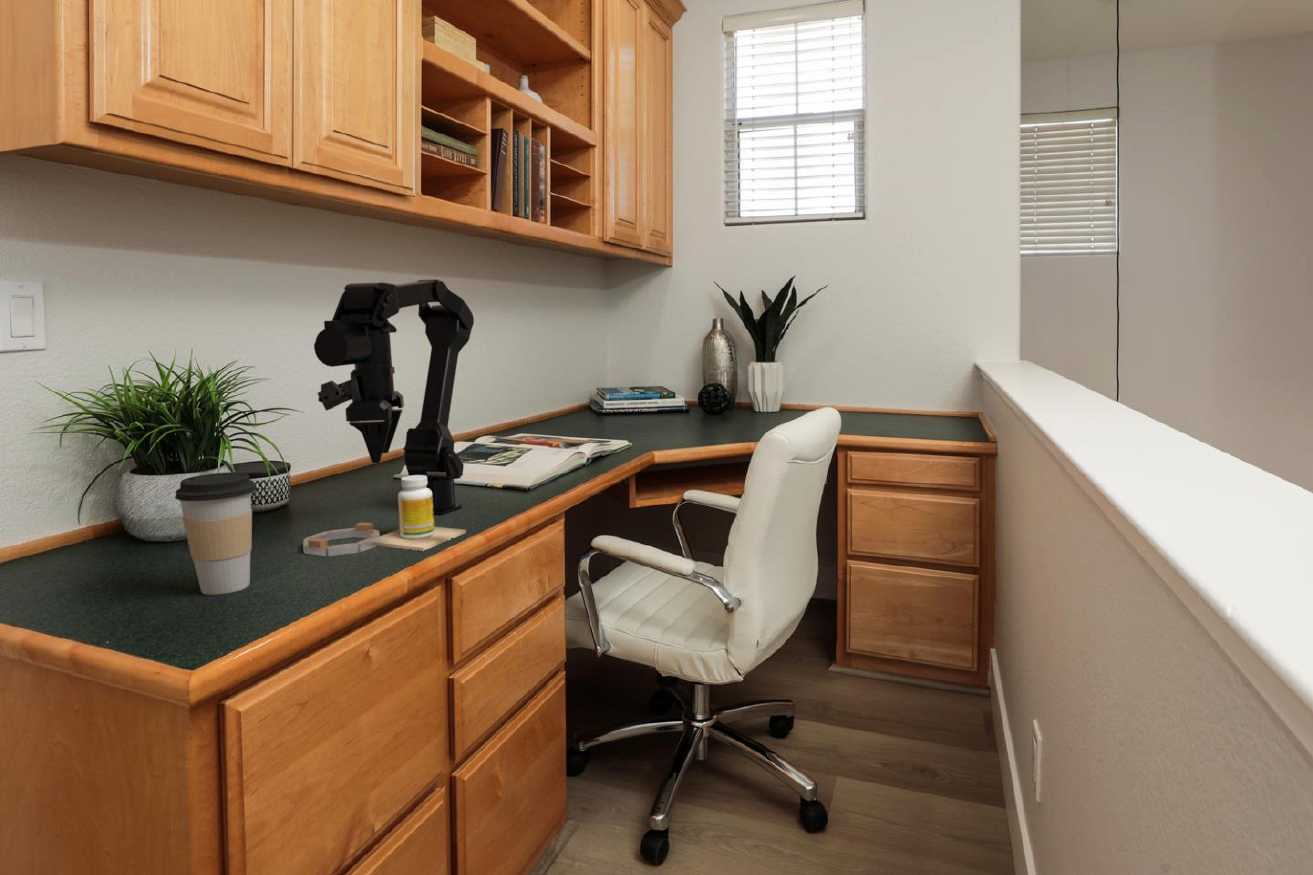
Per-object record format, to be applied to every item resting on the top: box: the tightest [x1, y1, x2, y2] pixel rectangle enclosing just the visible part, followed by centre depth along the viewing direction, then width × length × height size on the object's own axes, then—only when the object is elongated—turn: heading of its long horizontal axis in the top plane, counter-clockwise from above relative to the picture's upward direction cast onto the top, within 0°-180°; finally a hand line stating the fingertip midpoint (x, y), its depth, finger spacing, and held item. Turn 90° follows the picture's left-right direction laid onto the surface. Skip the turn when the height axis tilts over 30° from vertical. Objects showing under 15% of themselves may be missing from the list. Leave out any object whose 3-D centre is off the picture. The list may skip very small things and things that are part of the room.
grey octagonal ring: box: [302, 521, 381, 557], centre depth 125 cm, size 11×11×2 cm
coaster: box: [376, 526, 467, 552], centre depth 128 cm, size 11×11×1 cm
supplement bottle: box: [397, 475, 435, 539], centre depth 128 cm, size 5×5×10 cm
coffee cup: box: [174, 471, 257, 596], centre depth 105 cm, size 9×9×15 cm
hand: (380, 457), depth 129 cm, fingers open, 9 cm apart
